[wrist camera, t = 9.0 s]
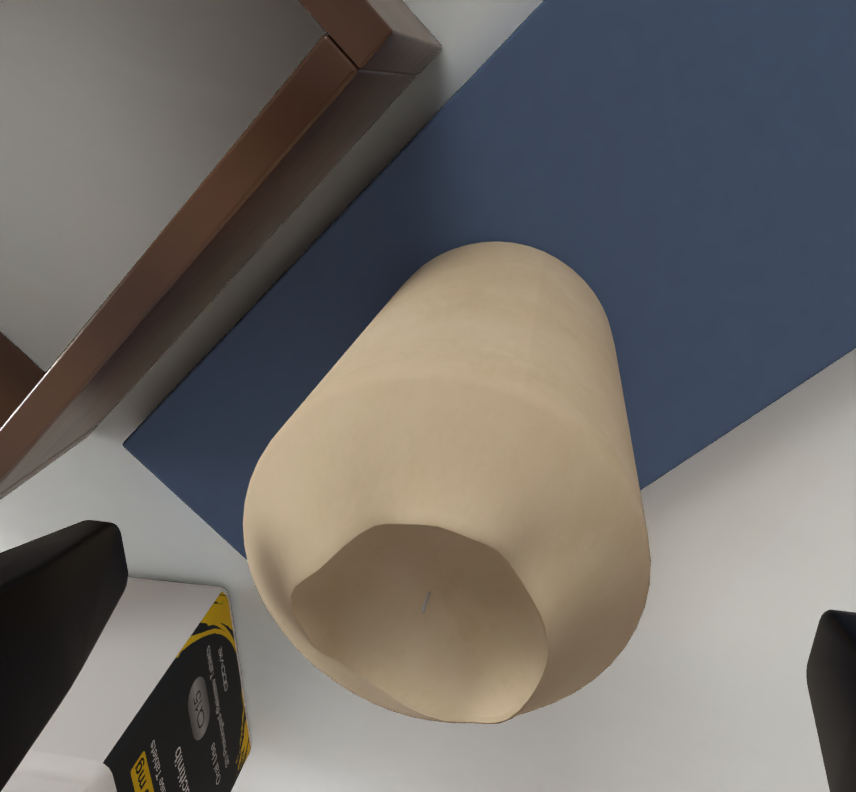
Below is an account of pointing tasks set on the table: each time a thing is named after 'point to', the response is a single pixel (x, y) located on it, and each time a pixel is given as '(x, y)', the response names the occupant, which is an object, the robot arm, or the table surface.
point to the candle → (459, 497)
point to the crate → (214, 229)
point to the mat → (585, 227)
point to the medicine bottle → (150, 701)
